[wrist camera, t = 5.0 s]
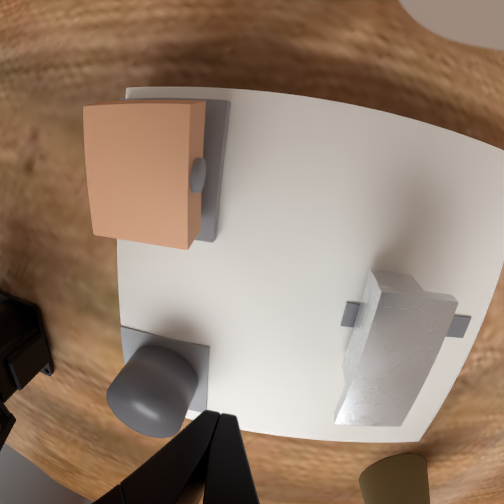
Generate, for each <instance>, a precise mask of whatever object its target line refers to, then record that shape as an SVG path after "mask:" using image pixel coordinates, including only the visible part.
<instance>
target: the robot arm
mask: <svg viewBox="0 0 504 504" xmlns="http://www.w3.org/2000/svg"><path fill="white" fill-rule="evenodd" d="M39 372H42V373H44V374H46V375H48V376H51V375H52V374H53V373H54V369H53V365H52V361H51V358H50V354H49V350H48V346H47V342H46V337H45V333H44V328H43V324H42V319H41V314H40V310H39V308H38V306H37V305H35V304H33V303H30V302H28V301H25V300H22V299H20V298H17V297H14V296H12V295H9V294H6V293H4V292H1V291H0V451H1V448H2V446H3V445H4V443H5V441H6V439H7V437H8V435H9V433H10V431H11V429H12V427H13V425H14V423H15V422H16V418H15V417H14V416H13V414H12V413H10V412H9V410H8V409H7V407H6V406H5V405H4V403H5V402H6V401H7V400H8V399H9V398H10V397H11V396H12V394H13V393H14V392H15V391H16V390H17V389H18V390H22V389H23V388H24V387H25V386H26V385H27V384H28V383H29V382H30V381H31V380H32V379H33V378H34V377H35V376H36V375H37V374H38V373H39ZM203 492H204V497H203V504H260V503H259V499H258V496H257V492H256V488H255V485H254V481H253V477H252V474H251V470H250V466H249V463H248V459H247V455H246V451H245V447H244V443H243V439H242V435H241V431H240V427H239V423H238V419H237V417H236V415H232V414H227V413H221V415H220V413H219V412H217V411H212V410H204V411H203V412H202V413H201V414H200V415H198V416H197V417H196V418H195V419H194V420H193V421H192V422H191V423H190V424H189V425H187V426H186V427H185V428H184V429H183V430H182V431H181V432H180V433H179V434H177V435H176V436H175V437H174V438H173V439H172V440H171V441H169V442H168V443H167V444H166V445H165V446H164V447H163V448H161V449H160V450H159V451H158V452H157V453H156V454H154V455H153V456H152V457H151V458H150V459H149V460H147V461H146V462H145V463H144V464H143V465H141V466H140V467H139V468H138V469H136V470H135V471H134V472H133V473H132V474H130V475H129V476H128V477H127V478H125V479H124V480H123V481H122V482H121V483H120V484H118V485H116V486H115V487H114V488H113V489H111V490H110V491H109V492H107V493H106V494H105V495H103V496H102V497H100V498H99V499H98V500H96V501H95V502H93V503H92V504H199V502H200V499H201V497H202V495H203Z"/></svg>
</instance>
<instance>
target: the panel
mask: <svg viewBox="0 0 504 504" xmlns="http://www.w3.org/2000/svg"><path fill="white" fill-rule="evenodd" d="M120 100H200V101H206V108H205V125H204V143H203V158H204V159H205V162H206V177H205V183H204V186H203V189H202V194H201V230H200V232H199V234H198V235H197V237H196V238H195V240H194V241H193V243H192V244H191V246H190V247H189V249H188V250H183V249H177V248H171V247H165V246H159V245H152V244H146V243H140V242H134V241H128V240H122V239H117V265H118V288H119V305H120V318H121V326H120V328H121V339H122V348H123V357H124V365H126V363H127V362H128V361H129V359H130V358H131V356H132V355H133V354H134V353H135V352H136V351H137V350H138V349H140V348H142V347H146V346H159V347H163V348H166V349H169V350H171V351H173V352H175V353H177V354H178V355H180V356H181V357H182V358H184V359H185V360H186V361H187V362H188V363H189V364H190V365H191V367H192V368H193V370H194V372H195V374H196V377H197V383H198V385H197V389H196V392H195V394H194V397H193V399H192V402H191V404H190V407H189V409H188V411H187V414H186V416H185V418H188V419H192V420H194V419H195V418H196V417H197V416H198V415H200V414H201V413H202V412H203V411H204V410H212V411H217V412H219V413H220V415H221V413H227V414H232V415H236V417H237V419H238V423H239V427H240V430H245V431H251V432H257V433H264V434H271V435H278V436H286V437H295V438H304V439H315V440H327V441H344V442H419V440H420V439H421V437H422V436H423V434H424V433H425V431H426V430H427V428H428V427H429V425H430V423H431V422H432V420H433V419H434V417H435V415H436V414H437V412H438V410H439V409H440V407H441V405H442V404H443V402H444V400H445V398H446V397H447V395H448V393H449V391H450V389H451V388H452V386H453V384H454V382H455V380H456V378H457V376H458V374H459V372H460V370H461V369H462V367H463V364H464V362H465V360H466V358H467V356H468V354H469V352H470V350H471V348H472V346H473V343H474V341H475V339H476V337H477V334H478V332H479V330H480V327H481V325H482V322H483V320H484V317H485V315H486V312H487V310H488V307H489V304H490V302H491V299H492V296H493V293H494V291H495V288H496V285H497V282H498V279H499V276H500V273H501V269H502V266H503V263H504V150H502V149H499V148H497V147H495V146H492V145H489V144H487V143H484V142H482V141H479V140H476V139H474V138H471V137H468V136H465V135H462V134H459V133H456V132H454V131H450V130H447V129H444V128H441V127H438V126H435V125H432V124H428V123H425V122H421V121H418V120H414V119H411V118H407V117H403V116H399V115H396V114H392V113H388V112H383V111H379V110H375V109H370V108H366V107H361V106H357V105H352V104H347V103H341V102H336V101H330V100H325V99H319V98H312V97H306V96H299V95H291V94H284V93H275V92H266V91H256V90H244V89H230V88H212V87H132V88H126V96H125V99H120ZM369 268H370V269H376V270H383V271H389V272H395V273H402V274H408V275H412V276H413V278H414V279H415V280H416V281H417V282H418V284H419V285H420V286H421V287H422V288H423V290H424V291H428V292H436V293H443V294H450V295H453V296H454V297H455V299H456V300H457V301H458V302H459V303H458V306H457V308H456V311H455V314H454V316H453V319H452V322H451V324H450V327H449V329H448V332H447V334H446V337H445V339H444V341H443V344H442V346H441V348H440V351H439V353H438V355H437V357H436V360H435V362H434V364H433V366H432V368H431V370H430V372H429V374H428V376H427V379H426V381H425V383H424V385H423V387H422V388H421V390H420V392H419V394H418V396H417V398H416V400H415V402H414V404H413V406H412V407H411V409H410V411H409V413H408V415H407V416H406V418H405V420H404V422H403V423H402V425H401V427H389V426H355V425H338V424H334V412H335V409H336V407H337V404H338V402H339V399H340V397H341V394H342V391H343V389H344V386H345V382H344V375H343V369H342V362H343V359H344V356H345V353H346V350H347V347H348V343H349V340H350V337H351V334H352V330H353V327H354V324H355V320H356V317H357V313H358V310H359V306H360V303H361V299H362V295H363V292H364V288H365V284H366V280H367V276H368V272H369Z"/></svg>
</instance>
